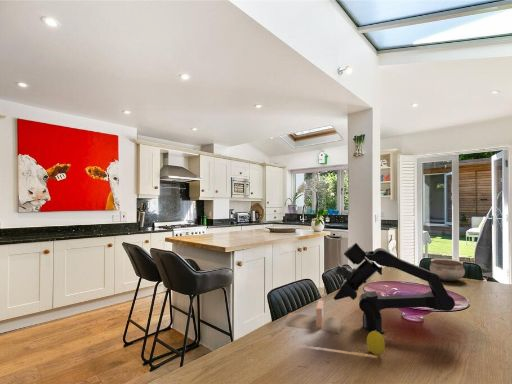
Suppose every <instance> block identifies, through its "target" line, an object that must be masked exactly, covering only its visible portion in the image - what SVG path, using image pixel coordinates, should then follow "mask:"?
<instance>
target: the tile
mask: <svg viewBox="0 0 512 384" xmlns="http://www.w3.org/2000/svg"><path fill="white" fill-rule="evenodd" d="M324 311H325V310H324V300H322V299H319V300H317V305H316V309H315V316H316V326H317V328H322V324H323V319H324V317H325V316H324V313H325V312H324Z"/></svg>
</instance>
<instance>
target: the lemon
mask: <svg viewBox="0 0 512 384" xmlns="http://www.w3.org/2000/svg"><path fill="white" fill-rule="evenodd" d="M385 343H386V342H385V339H384V337H383V334H382V333H381V334H380V333H379V332H377V331H376V330H374V331H372V332H369V333H368V334H367V336H366V346H367V349H368V351H369V352H370V353H372V354H373V355H374V356H375V357H377V356H379V355H381V354H383V352H384V350H385V348H386V344H385Z"/></svg>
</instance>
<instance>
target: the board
mask: <svg viewBox="0 0 512 384" xmlns="http://www.w3.org/2000/svg"><path fill="white" fill-rule="evenodd" d="M341 320H342V319H341V318H340V317H339V318H338V317H329V316H324V319H323V324H322V328H317V326H316V315H310V314H304V313H303V314H301V313H293V312H288V315H287V317H286V319H285V321H284V322H283V324H282V325H283V327H291V328H298V329H306V330H307V329H308V330H313V331H314V330H315V331H321V332H329V333H337V334H341V326H342V325H341V323H342V321H341Z"/></svg>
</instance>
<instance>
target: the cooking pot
mask: <svg viewBox="0 0 512 384" xmlns="http://www.w3.org/2000/svg"><path fill="white" fill-rule="evenodd" d="M430 261H431V262H430V265H429V271H433V272H434V273H436V274H437V275H438V276H439V279H440V281H441V282H448V283H452V282H455V281H458V280H460V279H462V278H464V276H465V273H466V270H465V267H464V265H463V264H464V262H463V261H461V260H457V259H449V258H432V259H430Z"/></svg>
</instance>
